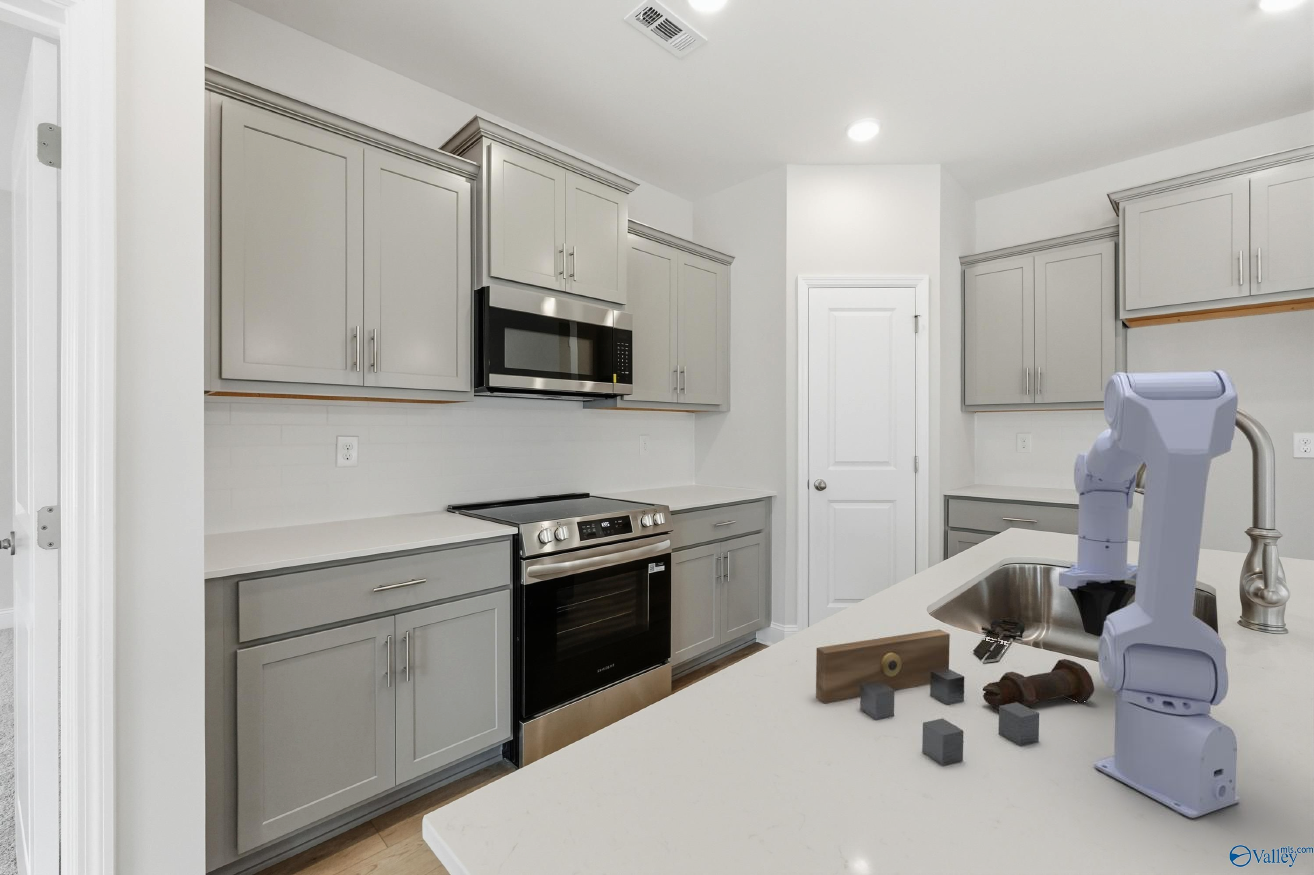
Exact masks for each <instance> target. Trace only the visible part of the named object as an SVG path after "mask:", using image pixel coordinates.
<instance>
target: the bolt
mask: <svg viewBox="0 0 1314 875" xmlns="http://www.w3.org/2000/svg"><path fill="white" fill-rule="evenodd" d="M1094 685H1095V684H1094V681H1093V678H1092V676H1091V674H1090V673H1089V671H1088V670H1087V669H1086V668H1085V666H1084V665H1082V664H1080V663H1078V662H1076V661H1074V660H1071V659H1067V658H1062V659H1058V660H1057V661H1056V663H1055V665H1054V666H1053V668H1052V669H1051V670H1050V672H1049V671H1048V672H1044V673H1043V672H1042V673H1037V674H1033V675H1032V674H1031V675H1028V676H1025V675H1023V674H1022V673H1018V672H1016V671H1009V672H1005V673H1003V675H1002V676H1001V678H1000V679H999V681H995V682H994V681H993V682H988V683H987V684H986V685H984V686H983V687H982V691H983V695H982V697H983V700H984V702H986V703H987V704H988V705H989V706H991V707H992V708H993V709H999V706H1002V705H1006V704H1011V703H1016V702H1017V703H1019V704H1022V705H1024V706H1026V707H1028V708H1030V709H1032V707H1033V706H1035V703H1036V702H1039V701H1044V700H1049V699H1055V698H1059V697H1065V696H1066V697H1065V698H1067V697H1068V698H1067V699H1069V698H1070V699H1069V700H1071V699H1072V700H1071V701H1073V700H1075V701H1077V702H1078V704H1081V703H1080V702H1082V703H1085V702H1084V701H1086V702H1087V701H1088V700H1090V698H1091V697H1092V695H1093V694H1094V692H1095V686H1094ZM1075 701H1074V702H1075ZM1077 702H1076V703H1077Z"/></svg>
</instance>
